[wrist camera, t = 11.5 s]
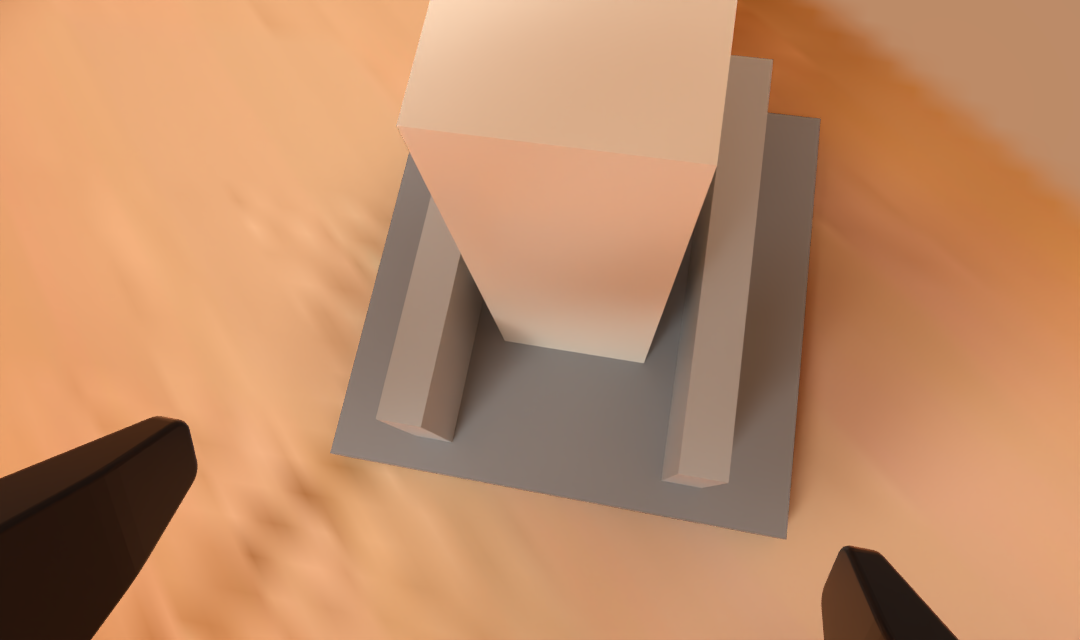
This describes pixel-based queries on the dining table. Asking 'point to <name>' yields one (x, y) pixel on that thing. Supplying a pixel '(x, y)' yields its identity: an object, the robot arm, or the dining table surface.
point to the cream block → (570, 155)
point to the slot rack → (606, 383)
